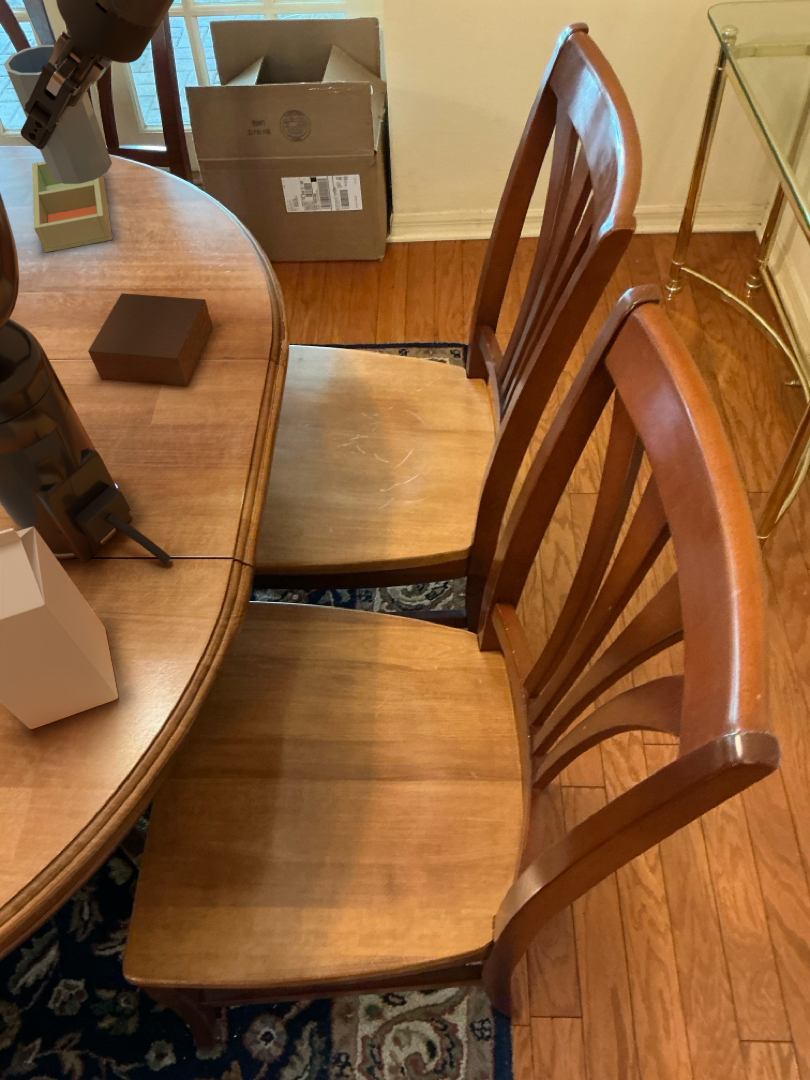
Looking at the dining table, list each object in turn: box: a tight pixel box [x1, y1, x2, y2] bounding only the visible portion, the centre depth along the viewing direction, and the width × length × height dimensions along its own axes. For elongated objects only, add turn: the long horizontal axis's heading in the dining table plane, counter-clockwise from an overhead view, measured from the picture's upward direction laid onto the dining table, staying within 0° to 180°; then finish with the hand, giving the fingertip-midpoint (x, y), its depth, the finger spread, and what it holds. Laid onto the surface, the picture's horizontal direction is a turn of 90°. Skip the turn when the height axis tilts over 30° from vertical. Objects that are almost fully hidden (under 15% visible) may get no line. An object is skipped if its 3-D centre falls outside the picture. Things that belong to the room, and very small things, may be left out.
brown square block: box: [87, 292, 214, 387], centre depth 86 cm, size 10×10×4 cm
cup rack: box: [31, 161, 113, 253], centre depth 104 cm, size 9×16×4 cm, turn 17°
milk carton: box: [0, 527, 119, 730], centre depth 56 cm, size 7×7×19 cm
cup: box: [3, 44, 113, 184], centre depth 73 cm, size 6×6×10 cm
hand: (47, 123), depth 74 cm, fingers closed on cup, 6 cm apart
